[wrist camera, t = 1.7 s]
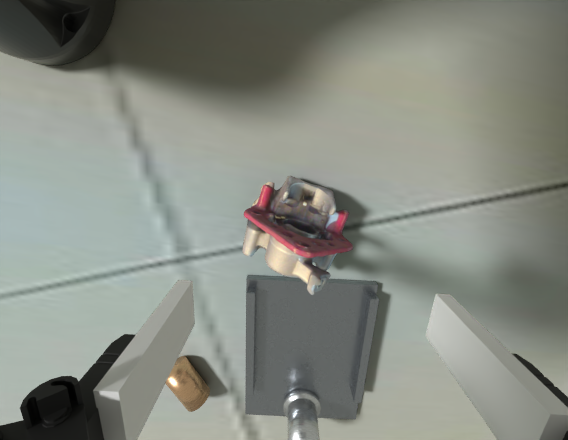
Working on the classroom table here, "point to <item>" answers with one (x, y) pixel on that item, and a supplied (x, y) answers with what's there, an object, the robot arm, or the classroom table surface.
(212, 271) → the classroom table surface
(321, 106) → the classroom table surface
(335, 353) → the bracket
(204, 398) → the golden brown rounded block
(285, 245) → the brake caliper
